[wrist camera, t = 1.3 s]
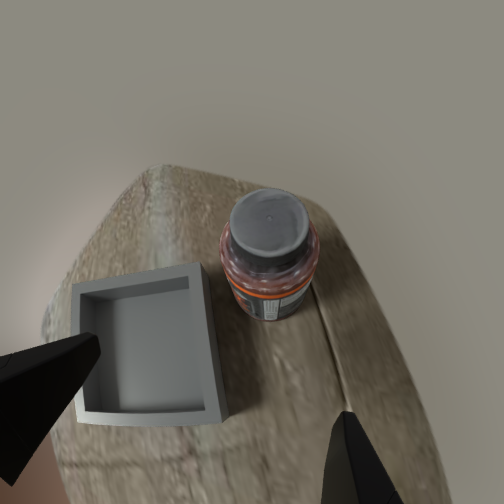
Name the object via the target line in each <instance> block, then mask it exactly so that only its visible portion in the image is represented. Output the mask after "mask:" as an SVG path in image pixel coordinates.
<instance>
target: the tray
mask: <svg viewBox="0 0 504 504" xmlns="http://www.w3.org/2000/svg"><path fill="white" fill-rule="evenodd" d="M85 332H92V333H94V334H96V335H97V336H98V338H99V343H100V348H101V355H100V358H99V359H98V361H97V362H96V364H95V366H94V367H93V369H92V371H91V372H90V374H89V376H88V377H87V379H86V381H85V382H84V384H83V385H82V387H81V388H80V390H79V391H78V392H77V394H76V395H75V396H74V399H75V407H76V415H77V422H80V423H89V424H100V425H114V426H143V427H161V426H189V425H204V424H216V423H223V422H224V421H225V420H226V419H227V418H229V412H228V406H227V401H226V395H225V389H224V383H223V377H222V370H221V364H220V357H219V351H218V344H217V337H216V330H215V323H214V315H213V308H212V300H211V292H210V284H209V277H208V275H207V273H206V272H205V270H204V268H203V266H202V264H201V263H200V262H194V263H189V264H183V265H177V266H172V267H166V268H160V269H155V270H149V271H144V272H138V273H132V274H127V275H121V276H115V277H110V278H104V279H99V280H93V281H87V282H82V283H76V284H72V300H71V336H75V335H78V334H81V333H85Z"/></svg>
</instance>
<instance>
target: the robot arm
mask: <svg viewBox="0 0 504 504" xmlns="http://www.w3.org/2000/svg"><path fill="white" fill-rule="evenodd" d="M100 355H101V348H100V343H99V338H98V336H97V335H96V334H94V333H92V332H85V333H81V334H78V335H75V336H71V337H68V338H65V339H61V340H58V341H54V342H51V343H47V344H44V345H40V346H37V347H33V348H30V349H26V350H23V351H19V352H15V353H13V354H12V353H11V354H8V355H4V356H0V477H1V478H2V479H3V480H4V481H5V482H6V483H8V484H9V485H10V486H13V485H14V483H15V482H16V480H17V479H18V477H19V475H20V474H21V472H22V471H23V469H24V468H25V466H26V465H27V463H28V461H29V460H30V459H31V457H32V456H33V454H34V452H35V451H36V450H37V448H38V446H39V445H40V444H41V442H42V441H43V439H44V438H45V436H46V435H47V434H48V432H49V431H50V429H51V428H52V426H53V425H54V424H55V422H56V421H57V419H58V418H59V417H60V415H61V414H62V413H63V411H64V410H65V408H66V407H67V406H68V404H69V403H70V402H71V400H72V399H73V398H74V396H75V395H76V394H77V392H78V391H79V390H80V388H81V387H82V385H83V384H84V382H85V381H86V379H87V377H88V376H89V374H90V372H91V371H92V369H93V367H94V366H95V364H96V362H97V361H98V359H99V358H100ZM321 504H404V503H403V501H402V500H401V498H400V496H399V494H398V492H397V491H396V490H395V487H394V485H393V483H392V481H391V479H390V477H389V475H388V474H387V472H386V470H385V468H384V466H383V464H382V463H381V461H380V459H379V457H378V455H377V453H376V451H375V450H374V448H373V446H372V444H371V442H370V440H369V439H368V437H367V435H366V433H365V431H364V429H363V428H362V426H361V424H360V422H359V420H358V418H357V417H356V415H355V413H353V412H348V411H342V412H341V413H340V415H339V417H338V418H337V420H336V422H335V423H334V425H333V428H332V432H331V437H330V443H329V448H328V453H327V458H326V463H325V468H324V478H323V488H322V498H321Z"/></svg>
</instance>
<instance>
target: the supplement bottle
mask: <svg viewBox="0 0 504 504" xmlns="http://www.w3.org/2000/svg"><path fill="white" fill-rule="evenodd" d="M219 253H220V260H221V263H222V266H223V269H224V271H225V274H226V277H227V279H228V281H229V284H230V286H231V288H232V291H233V293H234V296H235V299H236V301H237V302H238V304H239V306H240V307H241V308H242V309H243V310H244V311H245V312H246V313H247V314H248V315H250V316H251V317H253V318H255V319H257V320H261V321H270V322H272V321H278V320H282V319H285V318H287V317H288V316H290V315H291V314H293V313H294V312H295V311H296V310H297V309H298V307H299V306H300V304H301V303H302V301H303V299H304V297H305V294H306V292H307V289H308V287H309V285H310V282H311V280H312V277H313V275H314V272H315V270H316V266H317V263H318V260H319V255H320V241H319V236H318V233H317V231H316V228H315V227H314V225H313V223H312V222H311V221H310V219H309V215H308V212H307V210H306V208H305V206H304V204H303V203H302V202H301V201H300V200H299V199H298V198H297V197H296V196H295V195H293V194H291V193H289V192H287V191H284V190H281V189H275V188H264V189H258V190H255V191H253V192H250V193H248V194H246V195H245V196H243V197H242V198H241V199H240V200H239V201H238V202H237V203H236V205H235V206H234V207H233V210H232V212H231V215H230V220H229V221H228V223H227V224H226V225H225V227H224V230H223V232H222V235H221V238H220V243H219Z"/></svg>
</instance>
